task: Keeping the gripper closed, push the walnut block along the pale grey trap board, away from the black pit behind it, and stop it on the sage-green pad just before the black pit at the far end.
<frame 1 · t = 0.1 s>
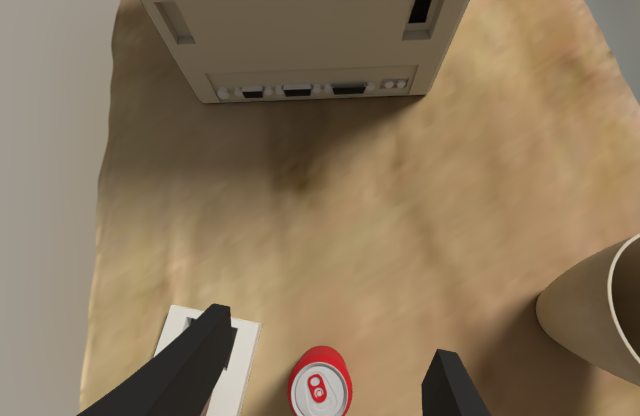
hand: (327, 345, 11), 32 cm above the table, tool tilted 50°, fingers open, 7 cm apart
beverage can: (322, 371, 39), on the table
computer monitor: (312, 32, 59), on the table
plant pot: (564, 314, 41), on the table
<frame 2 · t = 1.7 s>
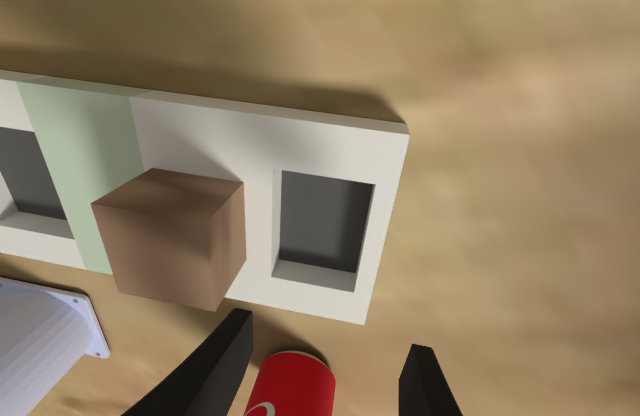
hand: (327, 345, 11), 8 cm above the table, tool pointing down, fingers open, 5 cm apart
beverage can: (300, 366, 26), on the table
block: (202, 216, 17), point 2 cm above the table, touching trap board
trap board: (172, 192, 19), on the table
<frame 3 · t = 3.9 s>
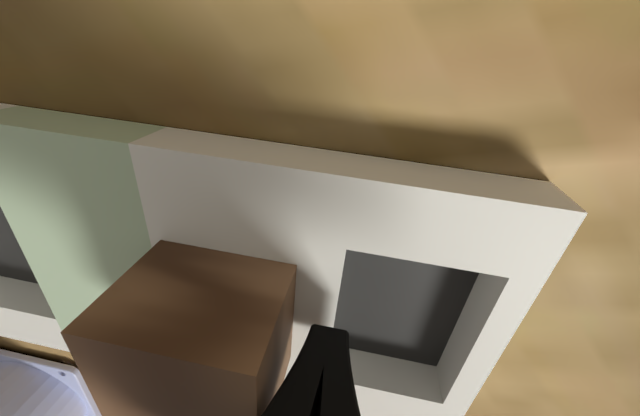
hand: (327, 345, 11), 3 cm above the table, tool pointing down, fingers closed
block: (230, 302, 12), point 2 cm above the table, touching gripper
trap board: (187, 257, 14), on the table
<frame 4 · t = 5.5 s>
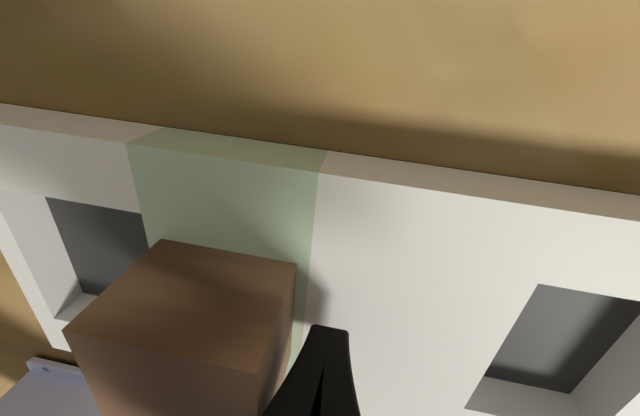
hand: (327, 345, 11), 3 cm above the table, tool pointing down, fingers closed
block: (230, 301, 12), point 2 cm above the table, touching gripper, trap board
trap board: (314, 281, 13), on the table
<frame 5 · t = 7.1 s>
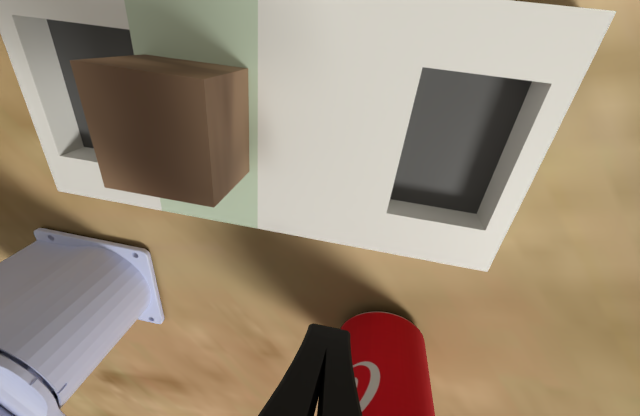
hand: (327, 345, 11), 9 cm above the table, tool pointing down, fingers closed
beverage can: (380, 331, 24), on the table
block: (200, 116, 15), point 2 cm above the table, touching trap board
trap board: (270, 117, 17), on the table
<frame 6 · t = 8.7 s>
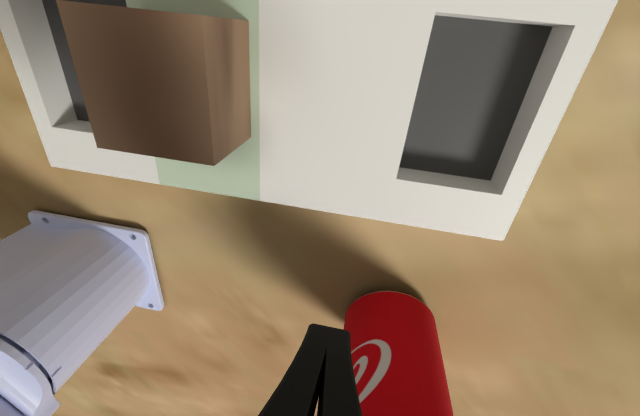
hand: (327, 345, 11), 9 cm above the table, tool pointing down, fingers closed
beverage can: (388, 313, 23), on the table
block: (198, 77, 14), point 2 cm above the table, touching trap board
trap board: (272, 81, 16), on the table
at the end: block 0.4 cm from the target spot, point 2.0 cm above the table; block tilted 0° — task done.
